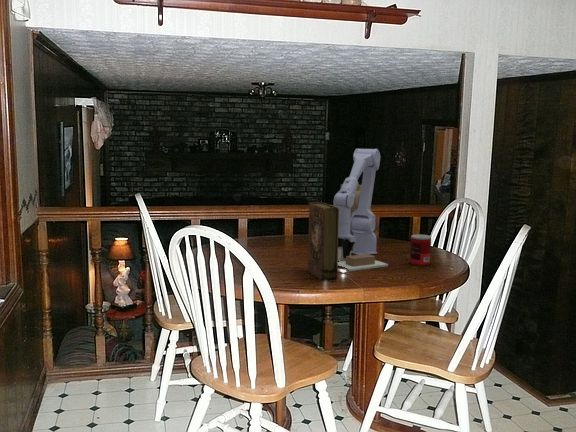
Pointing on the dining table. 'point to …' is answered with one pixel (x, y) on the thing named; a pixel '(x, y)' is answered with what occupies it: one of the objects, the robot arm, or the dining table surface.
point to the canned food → (420, 250)
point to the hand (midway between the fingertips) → (342, 256)
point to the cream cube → (341, 254)
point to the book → (323, 240)
